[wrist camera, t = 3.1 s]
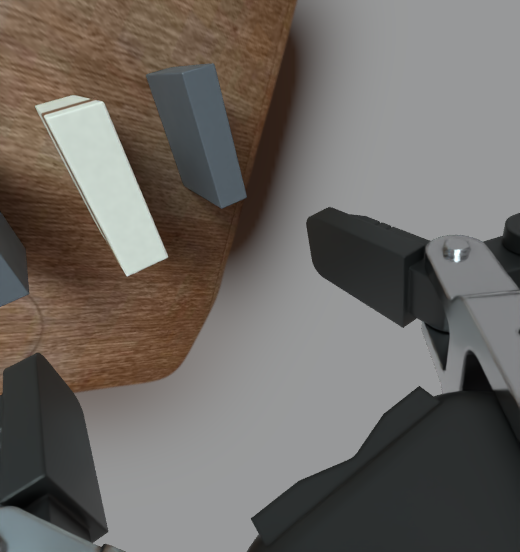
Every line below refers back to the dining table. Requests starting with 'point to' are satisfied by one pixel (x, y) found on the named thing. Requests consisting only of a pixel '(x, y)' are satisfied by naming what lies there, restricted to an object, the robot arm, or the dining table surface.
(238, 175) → the grey parallel blocks
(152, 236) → the white box
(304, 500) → the robot arm
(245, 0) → the dining table surface
